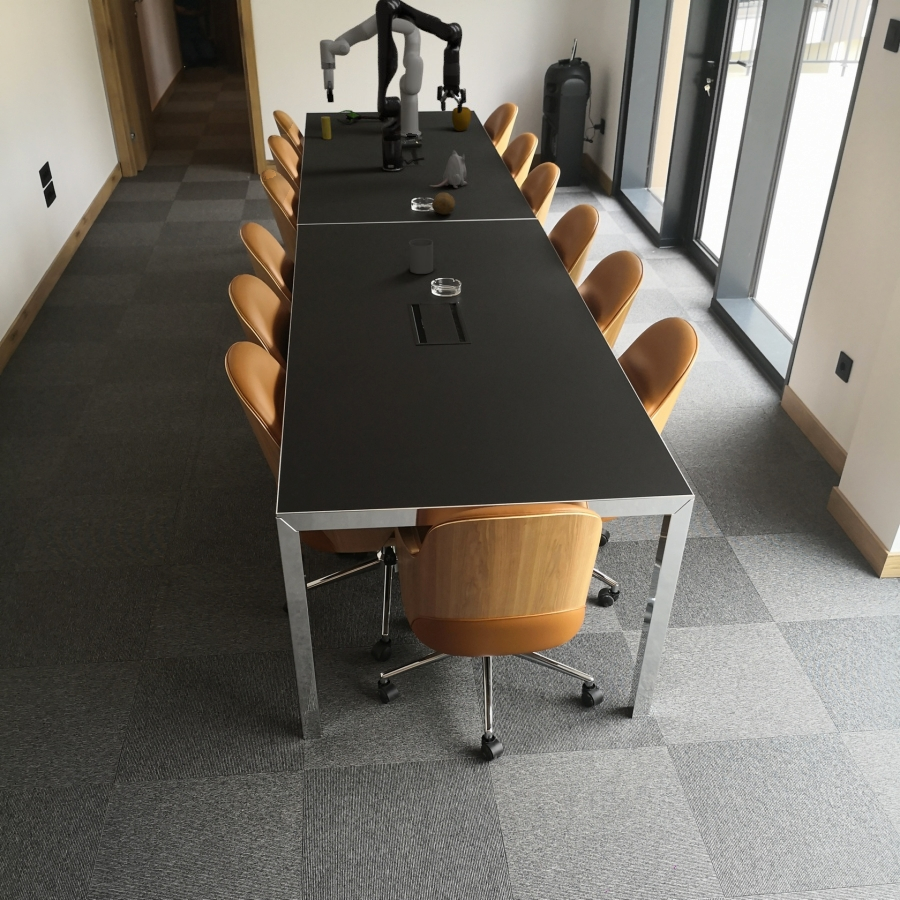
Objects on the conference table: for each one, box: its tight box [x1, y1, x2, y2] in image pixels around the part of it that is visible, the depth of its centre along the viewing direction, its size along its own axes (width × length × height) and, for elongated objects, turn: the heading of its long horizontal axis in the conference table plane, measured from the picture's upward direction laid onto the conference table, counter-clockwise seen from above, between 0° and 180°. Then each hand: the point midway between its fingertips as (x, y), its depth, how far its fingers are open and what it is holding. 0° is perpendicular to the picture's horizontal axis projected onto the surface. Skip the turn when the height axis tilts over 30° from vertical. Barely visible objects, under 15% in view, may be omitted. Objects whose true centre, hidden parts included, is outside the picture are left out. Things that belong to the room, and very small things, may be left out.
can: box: [320, 115, 332, 140], centre depth 472 cm, size 5×5×11 cm
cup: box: [408, 237, 434, 275], centre depth 305 cm, size 8×8×10 cm
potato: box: [431, 192, 456, 216], centre depth 360 cm, size 10×14×8 cm
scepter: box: [337, 109, 389, 125], centre depth 507 cm, size 6×13×30 cm
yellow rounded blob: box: [451, 106, 472, 132], centre depth 487 cm, size 11×11×13 cm
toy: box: [428, 149, 468, 189], centre depth 390 cm, size 9×24×15 cm, turn 137°
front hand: (451, 112), depth 390 cm, fingers open, 8 cm apart
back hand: (330, 100), depth 463 cm, fingers open, 9 cm apart
